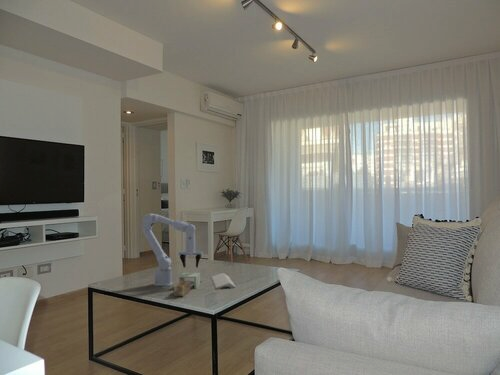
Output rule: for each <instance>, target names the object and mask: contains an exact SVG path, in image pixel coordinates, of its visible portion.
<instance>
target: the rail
mask: <svg viewBox="0 0 500 375" xmlns="http://www.w3.org/2000/svg"><path fill="white" fill-rule="evenodd" d="M193 287H194V283H190V289H191V288H193ZM182 297H183V296H175V298H182Z"/></svg>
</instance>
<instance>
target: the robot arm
mask: <svg viewBox="0 0 500 375" xmlns="http://www.w3.org/2000/svg"><path fill="white" fill-rule="evenodd" d="M155 223H163V224H166V225H168V226H172V228H173V229H174V230H177V231H179V232H182V233H185V251H178V256H179V259H180V260H181V262H182V266H183V268H186V256H195V268H199V263H200V259H201V258H202V256H203V254H204V253H203V252H204V251H199V250H198V251H196V227H195V225H194V224H192V223H189V222H185V221H183V220H182V219H176V220H173V219H171V218H168V217H166V216H163V215H160V214H157V213H153V212H151V213H146V214H144V215H143V216H142V219H141V232H142V234H143V236H144V237H145V240H146V241H147V243H148V244H149V246H150V248H151V250H152V252H153V253H154V255H155V257H156V261H157V264H158V269H155V271H154V287H160V286H161V287H169V286H171V285H173V284H174V281H172V278H173V277H172V276H173V275H172V267H171V266H172V264H173V260H172V258H170V257H169V256H168V255H167V254H166V253H165V251H164V249H163V248H162V246H161V244H160V243H159V241H158V239H157V238H156V236H155V234H154V233H153V231H152V229H153V226H154V225H155Z"/></svg>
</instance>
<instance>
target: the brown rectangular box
mask: <svg viewBox="0 0 500 375" xmlns="http://www.w3.org/2000/svg"><path fill="white" fill-rule="evenodd" d="M190 281H191V280H186V281H180V282H179V281H178V282H177V283H176V284H175V285H173V287H174V288H173V290H174V291H173V295H174V297H176V296H182V297H184V296H185V295H187V293H188V292H189V291H190V290H191V288H190Z"/></svg>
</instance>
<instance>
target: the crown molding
mask: <svg viewBox="0 0 500 375" xmlns="http://www.w3.org/2000/svg"><path fill="white" fill-rule="evenodd" d="M210 280H211V282H212V285H213V287H214V289H215V290H221V289H222V288H225V287H229V288H230V289H237V287H236V285H235V284H234V282H233V281H232V279H231V278H230V276H229V275H227V274H225V273H224V272H222V273H219V274H215V275H213V276H211V277H210Z"/></svg>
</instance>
